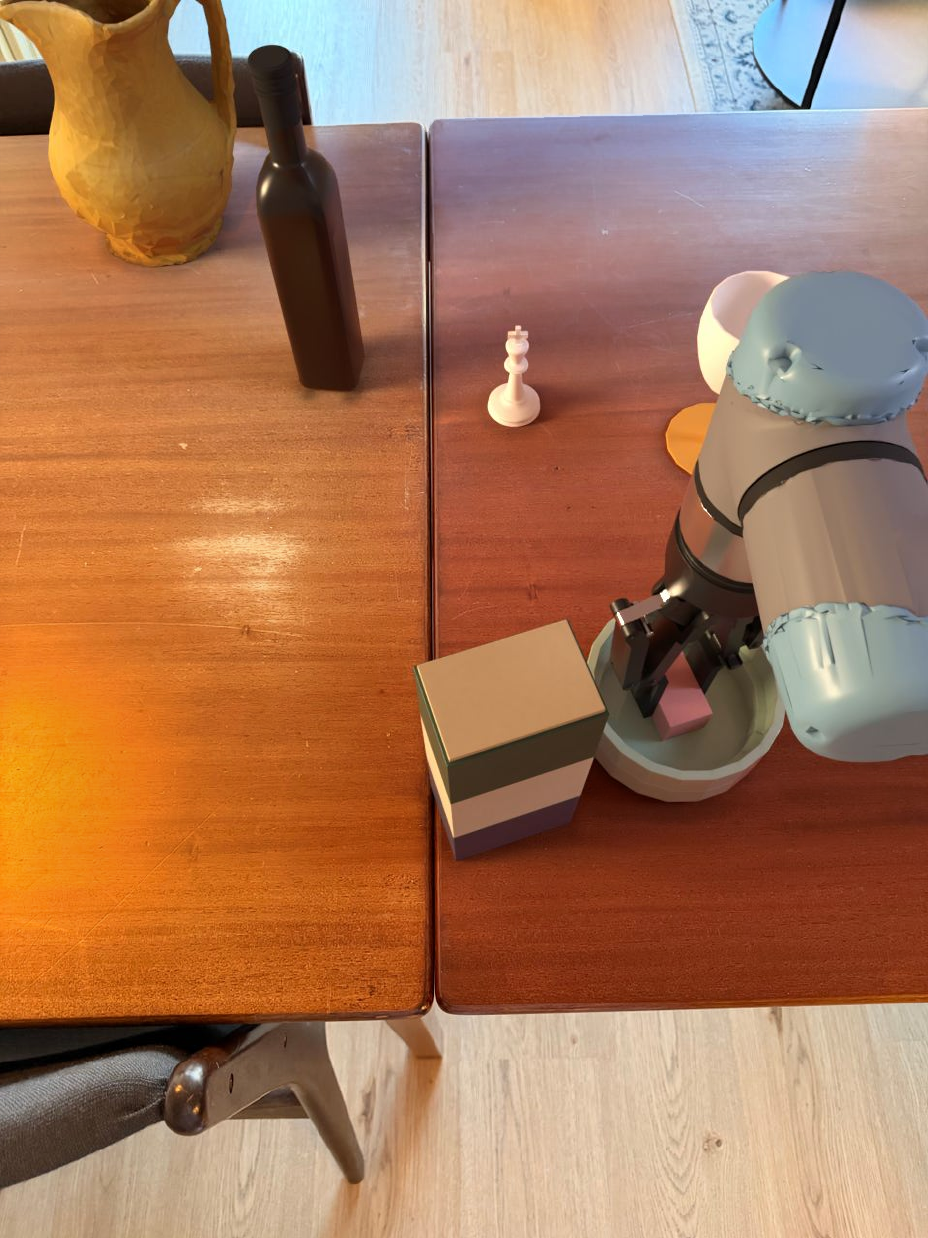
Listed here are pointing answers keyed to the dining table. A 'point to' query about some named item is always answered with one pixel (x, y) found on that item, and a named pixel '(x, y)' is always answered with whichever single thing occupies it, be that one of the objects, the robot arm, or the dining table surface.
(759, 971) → the dining table surface
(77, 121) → the pitcher
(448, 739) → the felt pad
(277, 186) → the wine bottle
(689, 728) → the eraser
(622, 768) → the bowl
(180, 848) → the dining table surface
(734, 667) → the robot arm
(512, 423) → the chess piece
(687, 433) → the cup
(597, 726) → the book stack
